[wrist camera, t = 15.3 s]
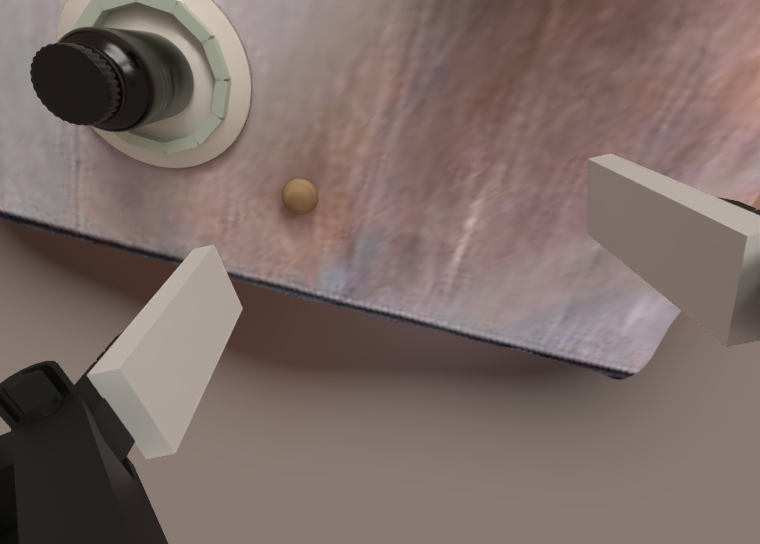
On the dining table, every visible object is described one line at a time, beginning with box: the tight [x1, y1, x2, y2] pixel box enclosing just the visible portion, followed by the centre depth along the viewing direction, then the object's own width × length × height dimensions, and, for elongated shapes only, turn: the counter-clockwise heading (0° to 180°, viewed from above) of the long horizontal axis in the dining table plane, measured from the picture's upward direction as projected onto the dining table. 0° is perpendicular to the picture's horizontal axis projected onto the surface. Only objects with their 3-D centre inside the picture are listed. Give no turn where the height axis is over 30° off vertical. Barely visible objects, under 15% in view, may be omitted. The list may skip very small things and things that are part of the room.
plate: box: [57, 0, 252, 168], centre depth 37 cm, size 16×16×2 cm
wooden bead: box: [282, 178, 318, 214], centre depth 42 cm, size 4×4×4 cm
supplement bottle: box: [30, 27, 194, 132], centre depth 32 cm, size 7×7×12 cm
